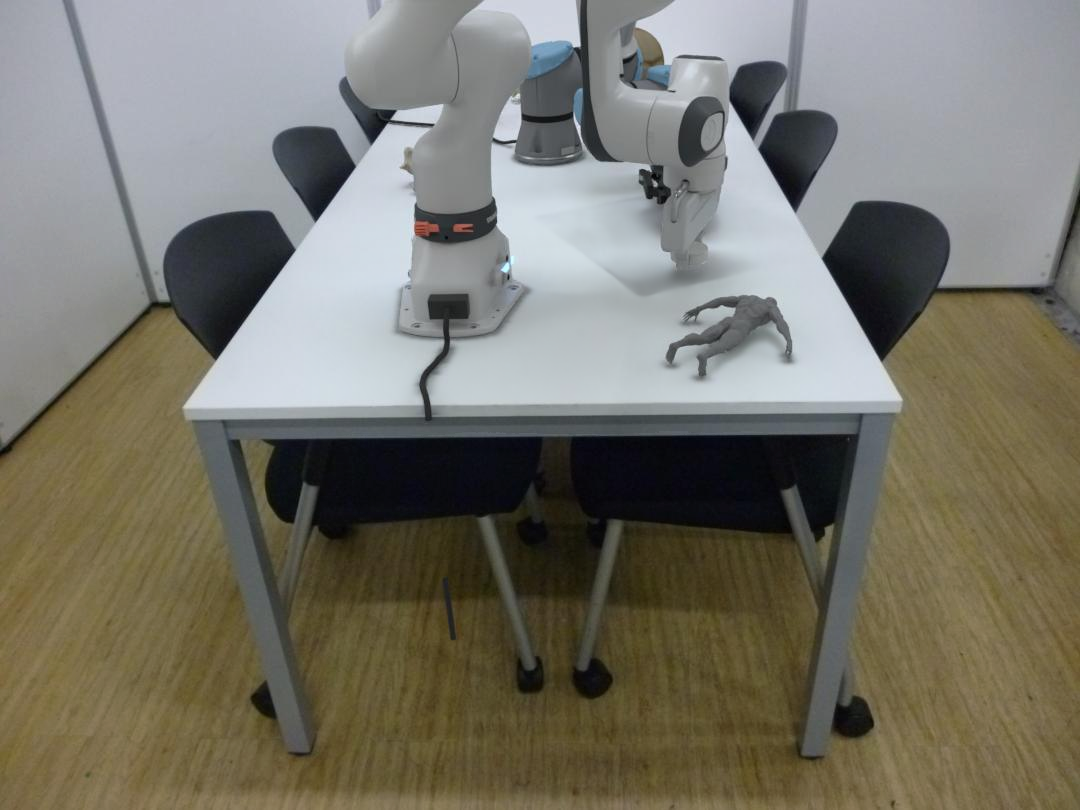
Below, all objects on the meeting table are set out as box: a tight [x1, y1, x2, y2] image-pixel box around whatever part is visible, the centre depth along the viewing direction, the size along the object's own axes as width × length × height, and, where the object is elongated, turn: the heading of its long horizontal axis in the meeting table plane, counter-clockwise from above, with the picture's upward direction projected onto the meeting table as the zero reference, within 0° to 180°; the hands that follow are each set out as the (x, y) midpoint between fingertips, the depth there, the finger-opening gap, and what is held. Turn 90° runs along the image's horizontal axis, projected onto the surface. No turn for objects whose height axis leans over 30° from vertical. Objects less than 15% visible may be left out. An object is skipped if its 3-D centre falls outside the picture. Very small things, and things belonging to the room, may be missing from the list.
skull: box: [633, 26, 665, 81], centre depth 227 cm, size 16×22×25 cm
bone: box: [399, 146, 415, 193], centre depth 172 cm, size 10×6×10 cm
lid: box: [670, 241, 709, 266], centre depth 129 cm, size 6×6×2 cm
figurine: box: [665, 294, 793, 377], centre depth 110 cm, size 17×4×20 cm
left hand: (688, 259), depth 130 cm, fingers closed on lid, 5 cm apart
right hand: (688, 205), depth 139 cm, fingers closed on jar, 5 cm apart
